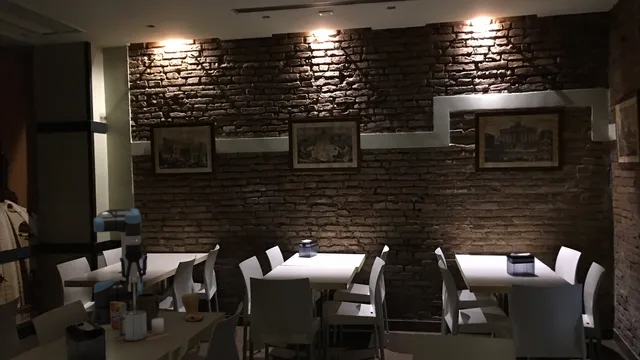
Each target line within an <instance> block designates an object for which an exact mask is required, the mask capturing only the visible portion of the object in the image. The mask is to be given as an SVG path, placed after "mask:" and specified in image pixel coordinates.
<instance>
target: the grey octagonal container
mask: <svg viewBox="0 0 640 360" xmlns="http://www.w3.org/2000/svg"><path fill="white" fill-rule="evenodd" d="M132 314H134V310H130V311H127V312H126V313H123V317H122V318H119V329H118V330H119V335H118V337H119V336H124V341H126V342H137V341H142V340H145V339H146V338H147V332H148V331H147V327H146V312H145V311H141V310H137V309H136V314H138V315H132ZM122 320H123V327H124V329H122ZM137 343H138V342H137Z"/></svg>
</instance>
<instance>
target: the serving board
mask: <svg viewBox="0 0 640 360" xmlns="http://www.w3.org/2000/svg"><path fill="white" fill-rule="evenodd" d="M171 337H172V336H171V335H170V334H168V333H167V332H165V331H164V333H162V334H152V330H150V331H147V338H146V339H145V340H142V341H137V342H126V341H124V336H119V335H118V336H115V337H114V338H115V340H116V341H118V343H120V345H122V346H124V345H130V344H136V343H141V342H142V343H143V342H147V341H154V340H159V339H165V338H171Z"/></svg>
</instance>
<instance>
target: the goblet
mask: <svg viewBox="0 0 640 360" xmlns="http://www.w3.org/2000/svg"><path fill="white" fill-rule="evenodd" d="M130 278H131V283H133V301H132V302H133V311H134V314H132V315H138V314H136V310H137V300H136V298H135V283H137V282H138V277H130Z"/></svg>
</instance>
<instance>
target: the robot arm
mask: <svg viewBox="0 0 640 360" xmlns="http://www.w3.org/2000/svg"><path fill="white" fill-rule="evenodd" d="M142 223H143V222H142V217H141V213H140V210H139V209H138V208H115V209H114V208H111V209H107V210H104V211H101V212H100V213H98V214H97V216H96V217H94V218H93V232H95V233H111V232H118V234H120V239H121V257H119V261H120V267H121V276H120V277H119V279H118V281H116V280H115V279H106V280H101V281H98V282H96V283H95V284H94V285H93V294H94V295H93V297H94V298H93V299H94V301H93V303H94V305H93V307H94V309H93V313H92V316H91V320H90V321H91V322H94V323H97V324H99V325H100V326H101V325H109V324H110V325H111V311H110V302H114V301H118V302H123V303H125V302H133V283H131V278H130V277H138V282H137V283H135V298H136V301H137V296H138V295H140V294H143V290H144V289H143V287H144V281H143V277H144V276H146V275H147V260H148V255H145V254H143V252H142V244H141V243H142V228H143V225H142ZM141 259H142V267H141V263H140V260H141ZM97 324H96V325H97ZM99 325H98V326H99Z"/></svg>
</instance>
